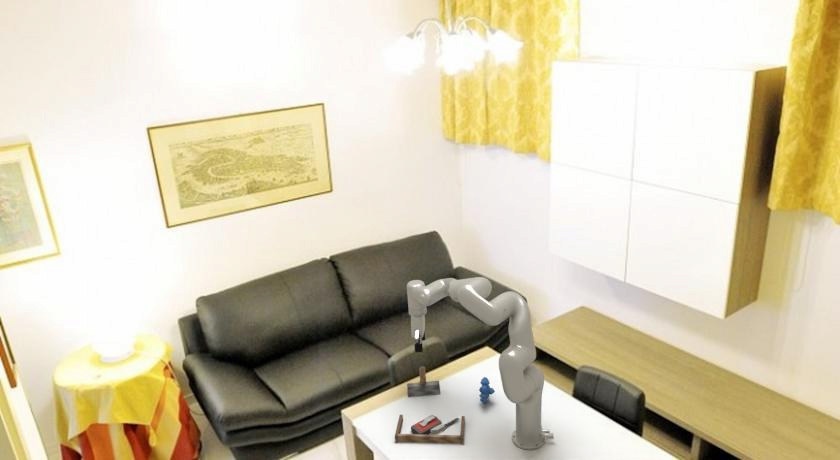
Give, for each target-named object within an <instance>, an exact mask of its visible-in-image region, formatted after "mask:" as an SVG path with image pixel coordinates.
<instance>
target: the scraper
mask: <svg viewBox="0 0 840 460" xmlns="http://www.w3.org/2000/svg"><path fill="white" fill-rule="evenodd" d="M418 370H419V371H418V372H419V382H411V383H410V382H409V383H406V390H407V398H412V397H423V396H435V395H440V394H441V385H440V380H432V381H431V380H428V381H427V376H426V367H425V366H423V365H422V366H419V368H418Z"/></svg>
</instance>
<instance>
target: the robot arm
mask: <svg viewBox="0 0 840 460" xmlns="http://www.w3.org/2000/svg"><path fill="white" fill-rule="evenodd" d="M492 286H493V285H492V283H491V281H490V280H489V279H487V278H486V277H483V276H482V277H481V276H476V277H469V278H468V277H467V278H462V279H457V278H454V277H447V278H441V279H437V280H435V281H433V282H431V283H429V284H428V285H425V282H424V281H423V280H421V279H413V280H410V281H408V283H407V284H406V293H407V304H408V305H407V306H408V315H409V316H410V327H411V328H410V330H411V332H410V333H411V334H410V335H411V336H410V337H411V338H412V339H414V344H413V345H414V352H415V353H423V351H424V350H423V342H422V341H426V332H425V331H426V330H425V329H426V316H425V315H426V314H427V312H428V310H427V309H428V308H427V307H429V306H430V307H431V306H432V305H434V304H435V303H437V302H439V301H440V300H442V299H444V298H445V297H450V298H451V300H452V301H453V302H455V303H460V305H461V306H462V307H463V308H465V309H466V310H467V311H468V312H470V313H471V314H472V315H474V316H475V317H476V318H477V319H479V320H480V321H481V322H483V323H484V324H485V325H488V326H492V327H494V326H498V325H500V324H502V323H503V322H505V320H507V319H508V318H509V323H508V335H509V342H510V343H509V345H508V347H506V349H504V350H503V351H502V352H501V354H500V356H499V358H498V369H499V374H500V380H501V385H502V390H503V393H504V395H505V397H506V398H507V400H508V401H509V402H511V403H512V404H515V430H514V431H513V432H512V434H511V441H512V443H513V444H514V445H515V446H516V447H518V448H520V449H523V450H527V451H533V450H538V449H540V448H542V447H543V446H544V445H545V443H546V439H552V440H553V439H554V437H555V436H554V435H555V434H554V432H553V433H552V432H551V430H550V429H543V426H542V406H543V405H542V403H543V402H542V399H543V392H544V385H545V375H544V372H543V371H542V369H541V368H540V366H538V365H536V364H533V363H534V361H535V360H536V358H537V349H536V344H535V340H534V339H535V338H534V334H533V327H532V318H531V311H530V307H529V305H528V303H527V301H526V300H525V298H524V297H523V296H522V295H521V294H519V293H517V292H515V291H511V290H510V291H505V292H502V293H501V294H499V295H497V296H496V297H494V298H493V299H492V300H490V301H488V300H486V299H487V298H488V297H489V296H490V295H491V293H492V289H493V287H492Z"/></svg>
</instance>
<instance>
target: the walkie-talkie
mask: <svg viewBox="0 0 840 460" xmlns="http://www.w3.org/2000/svg"><path fill="white" fill-rule="evenodd" d="M458 420H459V417H456V418H453V419H452V420H450V421H448V422H446V423H444V424H443V422H442V420H441V419H439V417H438V416H435V415H433V414H432V415H429V416H428V417H425V418H423V419H422V420H420V421H419V422H416V423H414V424H413V425H411V426H410V430H411V431H410V432H411V434H426V435H439V433H441V432H443V431H445V430H446V428H447V427H448V426H450V425H452V424H453V423H455V422H456V421H458Z"/></svg>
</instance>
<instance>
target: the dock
mask: <svg viewBox="0 0 840 460" xmlns="http://www.w3.org/2000/svg"><path fill="white" fill-rule="evenodd" d="M403 422H404V415H403V414H399V417H398V421H397V425H396V428H395V429H396V430H395V433H394V442H395V443H411V444H412V443H415V444H447V445H450V444H451V445H453V444H454V445H464V442H465V441H464V438H465V427H466V418H465V415H461V421H460V430H459V435H456V434H453V435H452V434H429V435H426V434H413V433H401V432H402V429H403V428H402V427H403Z"/></svg>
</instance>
